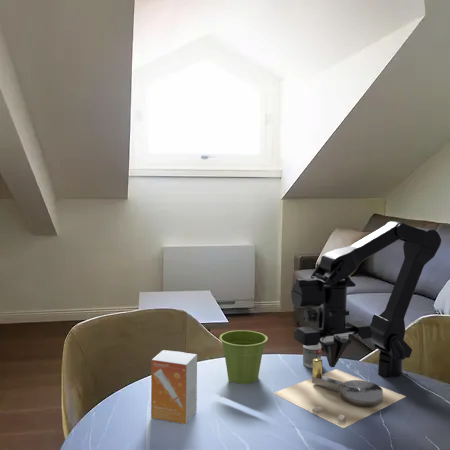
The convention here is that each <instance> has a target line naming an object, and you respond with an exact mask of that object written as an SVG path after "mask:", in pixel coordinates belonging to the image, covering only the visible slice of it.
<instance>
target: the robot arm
mask: <svg viewBox="0 0 450 450" xmlns="http://www.w3.org/2000/svg"><path fill="white" fill-rule="evenodd" d="M397 241H401V242H403V245H402V247H403V255H404V259H403V262H402V264H401V267H400V270H399V272H398V274H397V275H398V276H397V277H396V281H395V283H394V286H393V288H392V291H391V294H390V297H389V298H388V302H387V304H386V307H385V309H384V311H383V312H382V313H380V314H379V315H378V314H376V313H374V314H373V315H372V319H371V322H370V324H369V325H368V324H366V323H363V322H362V321H359V320H356V321H347V320H346V319H347V316H350V310H348V309H347V300H348V299H347V295H348V288H351V287H352V288H353V287H356V283H355V282H354V281H352V279H351V278H350V276H351V275H352V274H353V273H355V272H356V271H357V269H358V268H359V266H360V265H361V263H363V262H364V261H365V260H367V259H369V258H370V257H372V256H374V255H375V254H376V253H378V252H380V251H382V250H383V249H385V248H387V247H388V246H390V245H392V244H394V243H395V242H397ZM441 244H442V238H441V236H440V234H439V231H436V230H435V229H431V228H424V227H418V226H415V227H414V226H412V225H408V224H406V223H405V222H402V221H401V222H400V221H395V220H391V221H388V222H387V223H386V224H385V225H383V226H381V227H380V228H379V229H377V230H375V231H373V232H372V233H370V234H368V235H366V236H364V237H363V238H362V239H359V240H358V241H356V242H354V243H353V244H350V245H348V246H346V247H345V246H344V247H340V248H339V247H338V248H335V249H332V250H330V251H328V252H325V253H324V254H322V256H321V257H320V261H319V264H318V265H317V267H316V268H315V270H314V271H313V273H312V274H311V275H310V278H295V283H294V284H293V287H292V289H291V291H290V295H291V302H292V305H293V306H294V307H295V308H297V309H298V308H299V309H301V308H302V309H303V308H311V309H304V310H303V315H302V316H303V322H304V323H309V324H310V326H301V327H296V329H295V330H294V332H293V333H294V334H293V338H294V340H295V341H297V342H299V343H300V344H301V345H302V346H303V345H305V346H312V345H318V343H320V345H321V347H322V348H323V351H324V354H325V356H326V360H327V362H328V366H329V367H330V368H335V367H336V365H337V364H338V362H339V359H340V358H341V356H342V355H343V353H344V351H345V350H346V349H347V348H348V346H349V345H351V344H352V342H353V341H352V340H351V339H349V336H350V335H357V336H358V337H359V339H361V340H366V339H369V340H370V341H371V342H372V343H373V347H374V348H375V349H377V350H379V353H378V365H377V366H378V368H377V375H378V376H380V377H384V378H398V377H402V376H408V377H409V374H408V373H406V372H404V361H405V359H407V358H408V359H409V358H411V354H412V352H413V349H412V347H410V346H409V344H408V343H407V342H406V341H405V335H406V323H405V318H406V317H405V316H406V315H407V311H408V309H409V306H410V303H411V301H412V298H413V296H414V293H415V292H416V291H415V290H416V289H417V286H418V282H419V280H420V277H421V275H422V271H423V270H424V267H425V265H426V264H427V263H428V262H429V261H431V260H432V259H433V258H434V257H435V255H436V254H437V252H438V251H439V248H440V247H441ZM326 275H327V276H326ZM314 307H315V308H316V307H318V311H317V312H315V311H314V310H313V309H312V308H314ZM346 321H347V322H346ZM313 326H316V327H317V328H318V330H316V329H314V328H312V327H313Z"/></svg>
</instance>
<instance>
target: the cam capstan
mask: <svg viewBox="0 0 450 450" xmlns="http://www.w3.org/2000/svg"><path fill="white" fill-rule="evenodd" d="M322 374H323V359H322V358H321V359H319V358H315V359H313V368H312V376H311V378H312V383H314V384H317V385H320V386H323V387H326V388H329V389H332V390H335V391H338V392H339V391H341V396H342V398H343V399H344V400H345V401H347V402H349V403H351V404H355V405H359V406H375V405H378V404H380V403H381V402H382V398H383V390H382V388H381V387H382V386H381V387H380V385H378V384H376V383H373V382H371V381H368V380H365V381H362V380H351V381H346V382H344V383H343V382H341V381H337V380H334V379H331V378H328V377H325V376H322Z"/></svg>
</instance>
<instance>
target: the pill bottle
mask: <svg viewBox="0 0 450 450" xmlns="http://www.w3.org/2000/svg"><path fill="white" fill-rule="evenodd" d="M302 348H303V349H302V365H303V366H304V367H307V368H310V369H313V359H315V358H319V359H322V344H321V343H318V345H312V346H305V345H303V344H302Z"/></svg>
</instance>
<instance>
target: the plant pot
mask: <svg viewBox="0 0 450 450" xmlns="http://www.w3.org/2000/svg"><path fill="white" fill-rule="evenodd" d="M219 340H220V342H221V344H222V350H223V352H224V359H225V366H226V373H227V379H228V380H227V381H228V382H229V383H235V384H241V385H246V384H247V385H248V384H252V383H255V382H258V380H259V375H260V368H261V365H262V359H263V351H264V350H265V345H266V342H267V341H268V335H266V334H264V333H262V332H258V331H255V330H254V331H253V330H241V329H238V330H230V331H226V332H224V333H221V334H220V336H219Z"/></svg>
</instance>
